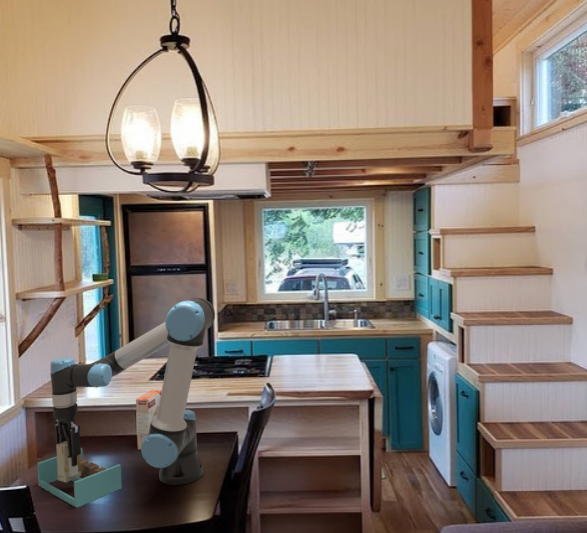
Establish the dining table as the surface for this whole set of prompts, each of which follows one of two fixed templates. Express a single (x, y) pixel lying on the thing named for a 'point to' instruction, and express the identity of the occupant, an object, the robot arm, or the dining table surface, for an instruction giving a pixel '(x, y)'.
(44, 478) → the teal rack
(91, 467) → the block
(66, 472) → the skincare box
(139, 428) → the cracker box
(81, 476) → the offcut
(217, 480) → the dining table surface
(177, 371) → the robot arm
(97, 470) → the offcut
